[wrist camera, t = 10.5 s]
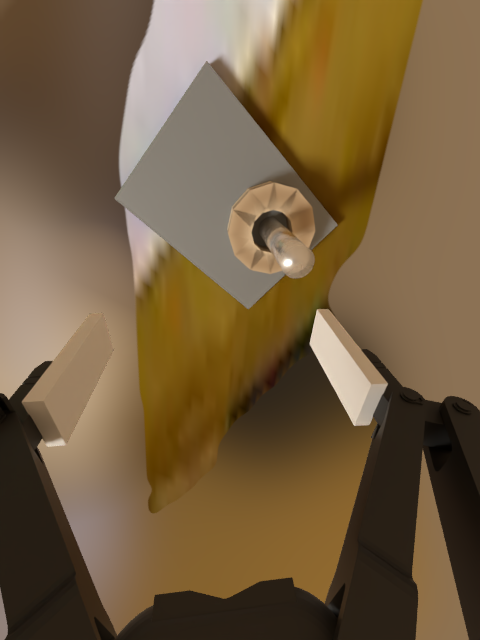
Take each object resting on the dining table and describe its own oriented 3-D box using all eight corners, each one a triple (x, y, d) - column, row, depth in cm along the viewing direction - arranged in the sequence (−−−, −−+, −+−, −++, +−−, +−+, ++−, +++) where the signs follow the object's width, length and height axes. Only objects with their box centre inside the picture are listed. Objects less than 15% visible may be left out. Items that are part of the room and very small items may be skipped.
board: (118, 197, 34) (114, 198, 33) (207, 65, 29) (206, 60, 27) (247, 305, 44) (248, 309, 43) (333, 222, 38) (337, 224, 37)
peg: (254, 228, 36) (274, 263, 23) (269, 211, 35) (300, 238, 22) (268, 243, 37) (296, 284, 25) (284, 227, 36) (321, 261, 24)
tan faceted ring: (211, 229, 36) (211, 234, 33) (270, 161, 32) (275, 161, 30) (266, 280, 40) (269, 287, 38) (323, 225, 37) (331, 229, 34)
